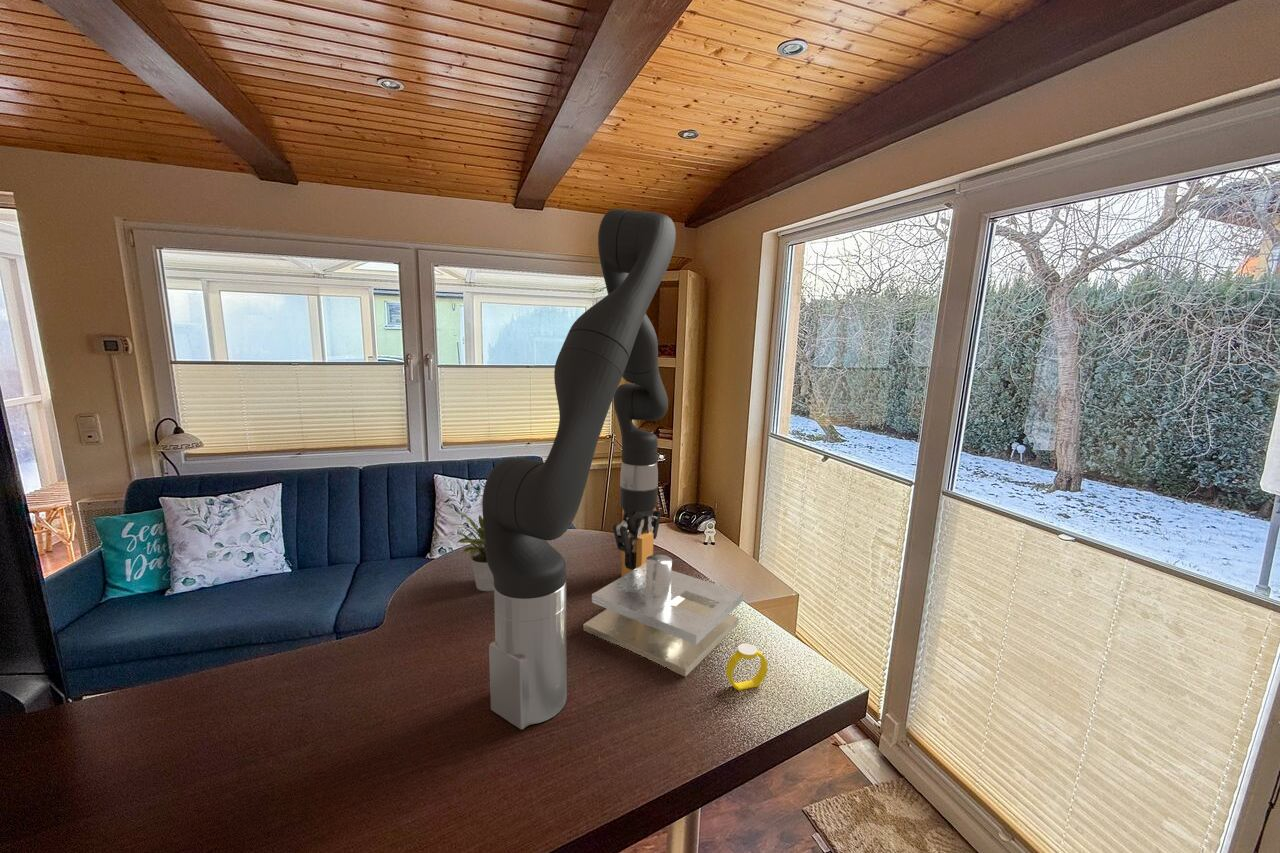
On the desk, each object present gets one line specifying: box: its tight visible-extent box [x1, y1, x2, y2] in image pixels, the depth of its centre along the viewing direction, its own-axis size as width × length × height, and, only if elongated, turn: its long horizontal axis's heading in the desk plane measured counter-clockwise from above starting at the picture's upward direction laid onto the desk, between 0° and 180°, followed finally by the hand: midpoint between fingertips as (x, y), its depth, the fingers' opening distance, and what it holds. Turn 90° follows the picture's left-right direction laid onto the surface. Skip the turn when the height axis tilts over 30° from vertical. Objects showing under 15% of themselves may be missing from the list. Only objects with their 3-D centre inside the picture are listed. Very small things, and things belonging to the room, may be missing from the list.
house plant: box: [452, 511, 494, 592], centre depth 101 cm, size 14×14×16 cm
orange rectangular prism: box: [620, 531, 654, 578], centre depth 105 cm, size 4×5×10 cm
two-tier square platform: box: [582, 554, 744, 678], centre depth 87 cm, size 18×21×12 cm
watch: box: [725, 643, 768, 692], centre depth 73 cm, size 6×3×6 cm, turn 108°
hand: (637, 564), depth 105 cm, fingers closed on orange rectangular prism, 4 cm apart
